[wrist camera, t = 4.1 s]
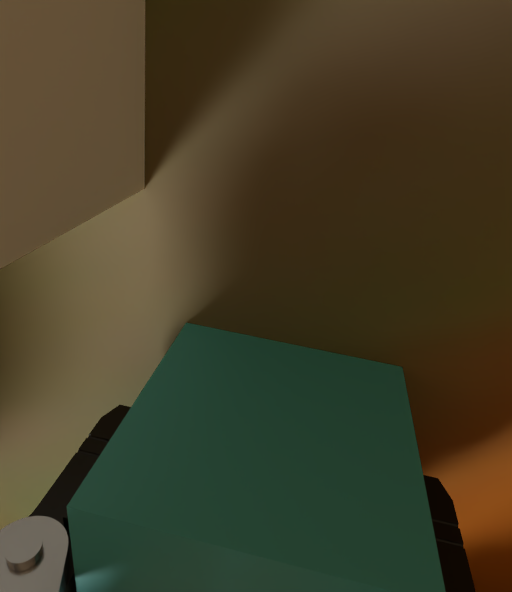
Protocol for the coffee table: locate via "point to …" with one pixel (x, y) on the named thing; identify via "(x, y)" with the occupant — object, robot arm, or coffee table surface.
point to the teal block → (258, 477)
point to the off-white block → (68, 115)
